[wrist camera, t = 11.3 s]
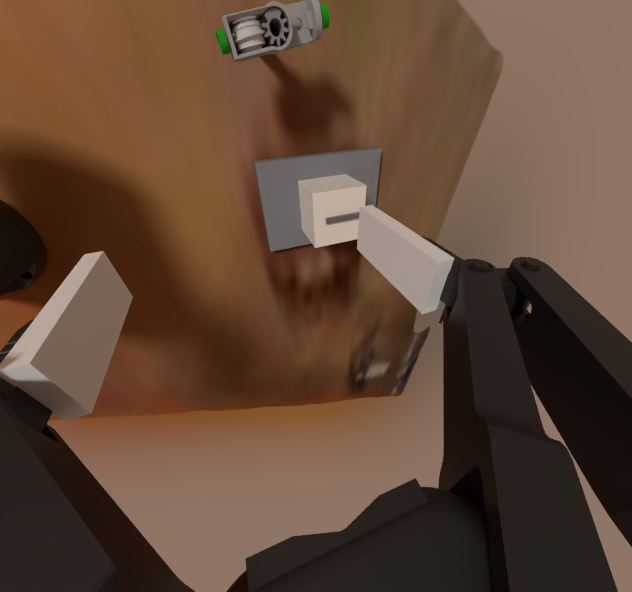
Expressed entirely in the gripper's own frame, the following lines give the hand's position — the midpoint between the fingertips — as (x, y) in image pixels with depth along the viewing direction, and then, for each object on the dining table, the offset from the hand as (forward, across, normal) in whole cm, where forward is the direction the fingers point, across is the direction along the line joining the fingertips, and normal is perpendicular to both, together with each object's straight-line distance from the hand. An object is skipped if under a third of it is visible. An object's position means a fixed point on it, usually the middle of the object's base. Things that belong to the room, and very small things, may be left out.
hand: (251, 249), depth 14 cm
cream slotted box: (+27, +14, -8) cm, 31 cm away
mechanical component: (+29, +7, +11) cm, 32 cm away
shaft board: (+28, +14, -8) cm, 33 cm away
